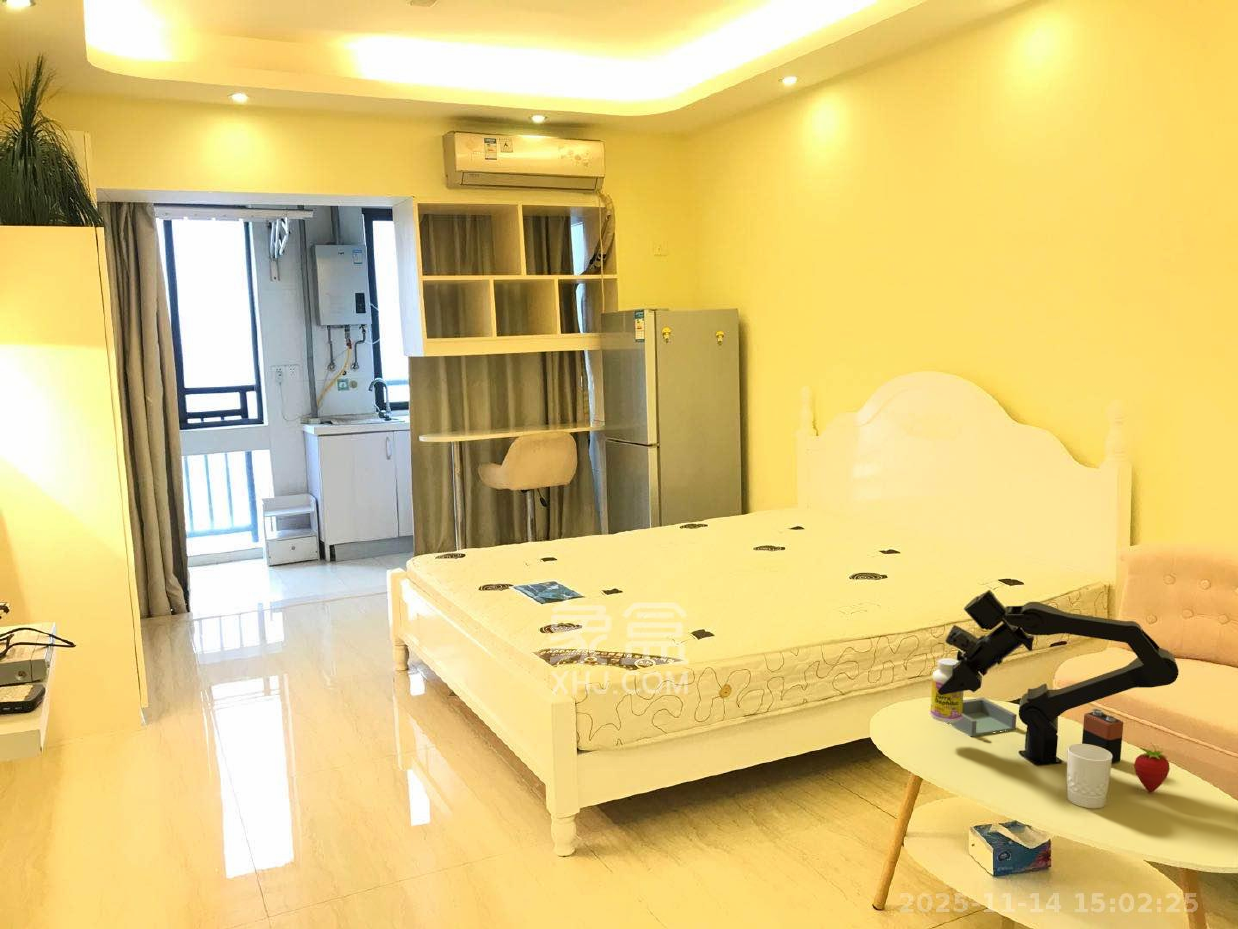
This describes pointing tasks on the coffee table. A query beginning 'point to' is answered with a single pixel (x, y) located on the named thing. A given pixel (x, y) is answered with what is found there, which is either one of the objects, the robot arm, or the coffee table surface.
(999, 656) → the robot arm
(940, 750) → the coffee table surface
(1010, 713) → the grey tray
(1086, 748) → the white cup
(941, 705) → the supplement bottle
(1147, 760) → the strawberry
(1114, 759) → the battery
